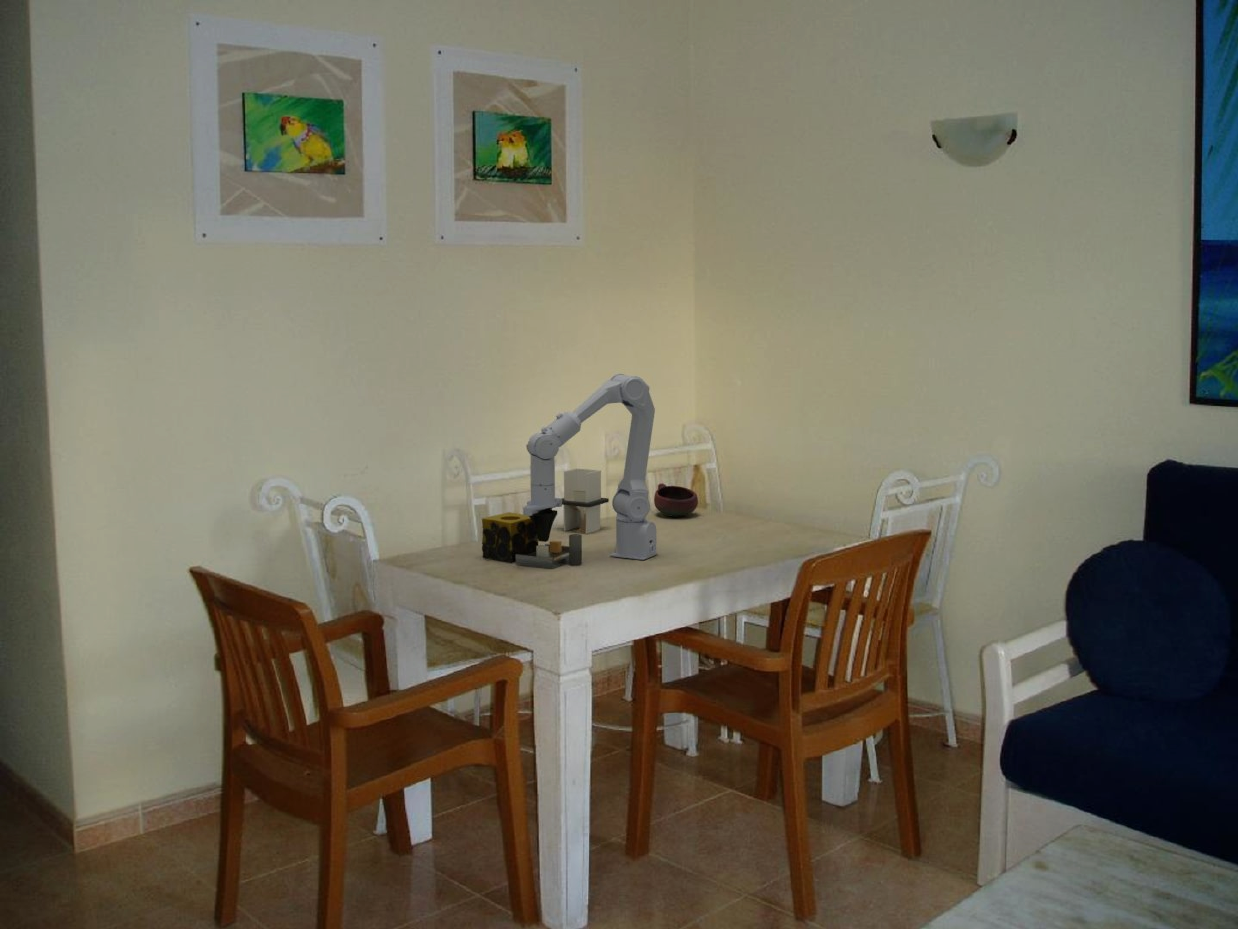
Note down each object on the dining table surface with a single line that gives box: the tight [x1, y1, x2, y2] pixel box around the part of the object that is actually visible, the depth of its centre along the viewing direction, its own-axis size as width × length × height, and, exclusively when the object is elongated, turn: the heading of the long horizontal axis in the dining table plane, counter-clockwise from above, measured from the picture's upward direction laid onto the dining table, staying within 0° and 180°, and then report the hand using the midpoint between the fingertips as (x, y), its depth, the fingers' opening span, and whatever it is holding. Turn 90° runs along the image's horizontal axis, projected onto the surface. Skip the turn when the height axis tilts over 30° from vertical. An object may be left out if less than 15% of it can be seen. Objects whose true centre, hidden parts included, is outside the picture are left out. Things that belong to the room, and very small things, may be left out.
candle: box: [481, 511, 539, 563], centre depth 311 cm, size 10×10×10 cm
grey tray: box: [515, 543, 569, 570], centre depth 307 cm, size 10×14×2 cm
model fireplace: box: [561, 468, 609, 535], centre depth 345 cm, size 25×24×16 cm
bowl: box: [653, 483, 699, 517], centre depth 367 cm, size 16×13×8 cm
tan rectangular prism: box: [549, 540, 563, 553], centre depth 309 cm, size 2×2×2 cm
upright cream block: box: [536, 544, 549, 557], centre depth 304 cm, size 2×2×2 cm
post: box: [568, 533, 583, 567], centre depth 303 cm, size 3×3×7 cm
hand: (543, 541), depth 304 cm, fingers closed
